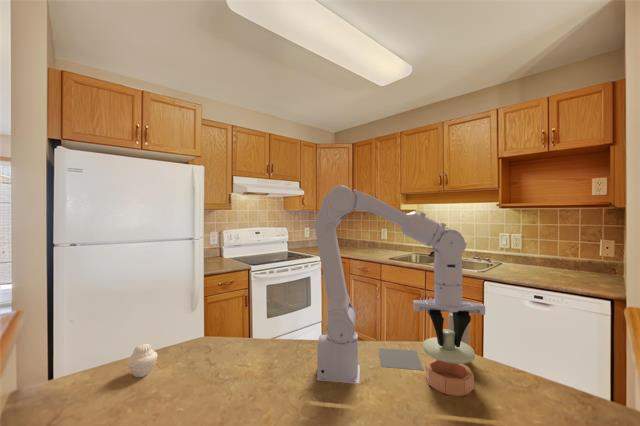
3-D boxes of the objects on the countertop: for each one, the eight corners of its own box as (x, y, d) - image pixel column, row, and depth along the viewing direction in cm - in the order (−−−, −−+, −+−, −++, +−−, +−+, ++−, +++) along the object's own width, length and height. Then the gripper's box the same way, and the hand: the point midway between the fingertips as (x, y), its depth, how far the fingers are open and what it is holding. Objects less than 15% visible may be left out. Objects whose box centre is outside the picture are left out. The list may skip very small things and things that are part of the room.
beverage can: (472, 367, 71) (471, 318, 71) (451, 365, 72) (450, 317, 72) (466, 357, 76) (466, 312, 76) (446, 356, 77) (446, 310, 77)
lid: (429, 362, 59) (429, 341, 59) (418, 339, 70) (418, 321, 70) (483, 365, 58) (483, 344, 58) (464, 341, 68) (464, 323, 68)
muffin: (123, 373, 68) (124, 344, 68) (152, 364, 73) (152, 336, 73) (131, 384, 64) (131, 352, 64) (161, 373, 68) (161, 343, 69)
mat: (380, 369, 70) (380, 366, 70) (379, 350, 80) (379, 347, 80) (423, 372, 69) (423, 370, 69) (416, 352, 78) (416, 350, 78)
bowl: (431, 396, 60) (431, 378, 60) (423, 372, 69) (423, 357, 69) (478, 400, 58) (478, 382, 58) (463, 375, 67) (463, 360, 67)
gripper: (417, 286, 61) (417, 350, 61) (491, 288, 59) (491, 355, 58) (411, 278, 68) (412, 336, 68) (477, 281, 65) (478, 340, 65)
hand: (448, 344), depth 64 cm, fingers closed on lid, 3 cm apart
